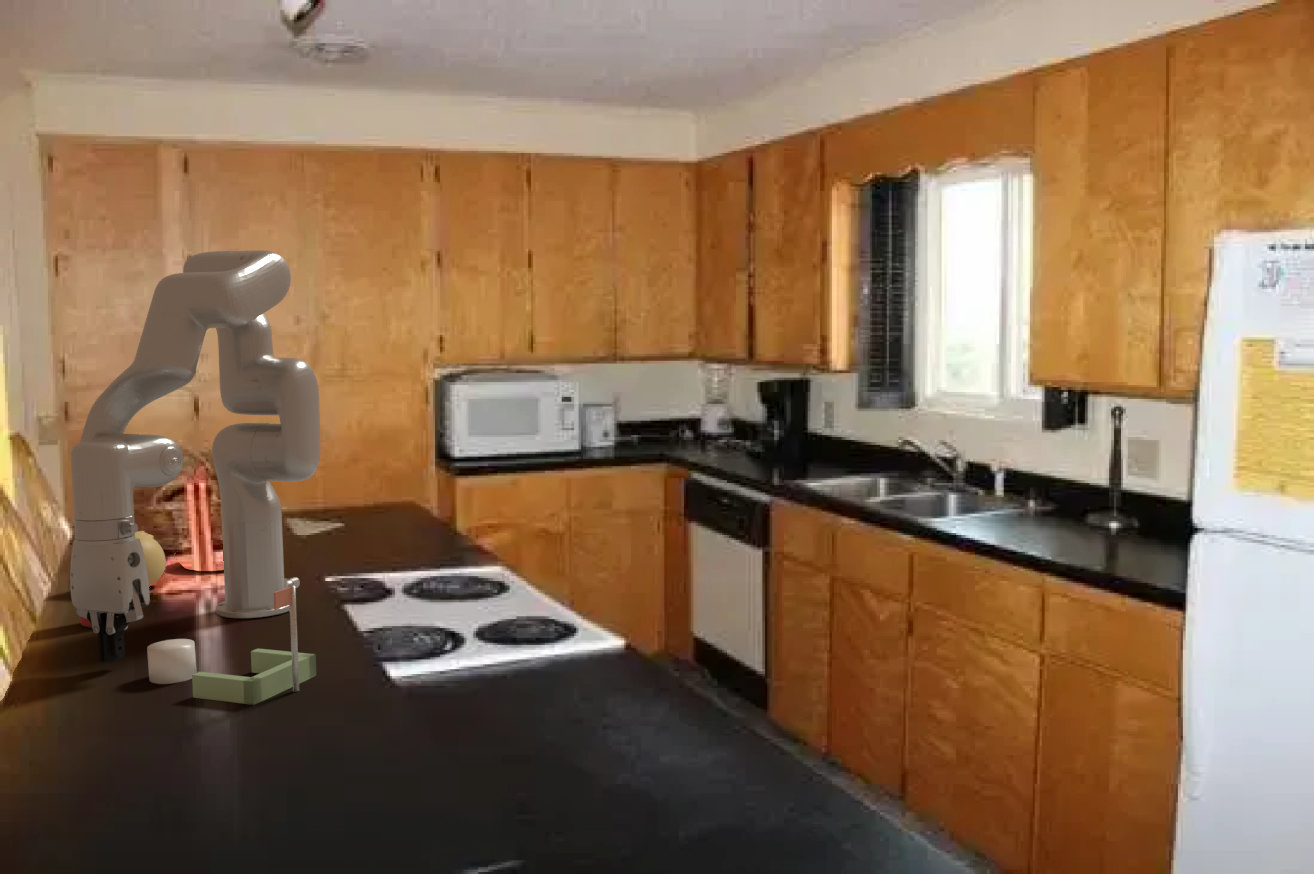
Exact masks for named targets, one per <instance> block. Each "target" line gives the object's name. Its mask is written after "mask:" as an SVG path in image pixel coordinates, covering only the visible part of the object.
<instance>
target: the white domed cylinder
mask: <svg viewBox="0 0 1314 874" xmlns="http://www.w3.org/2000/svg"><path fill="white" fill-rule="evenodd" d="M195 645H196V644H195V641H194V640H193V639H188V638H175V639H165V640H161V641H157V642H154V643H151V644H150V645H148V646H147V648H146V652H147V666H148V677H149V678H148V679H149V680H148V681H149V682H150V683H152V684H157V685H168V684H169V685H170V684H178V683H183V682H186V681H189V680H192V675H193V674H195V673H198V671H197V661H196V659H197V657H196V646H195Z"/></svg>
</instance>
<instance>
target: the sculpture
mask: <svg viewBox="0 0 1314 874" xmlns="http://www.w3.org/2000/svg"><path fill="white" fill-rule="evenodd" d="M135 538H139V539H140V542H141V545H142V548H143V552H144V556H145V561H146V567H147V574H148V582H149V585H150V584H152V583H154V582H156V581H157V580H158V579H159V578H160V577H161V575H162V574H163V571H164V570H165V571H166V568H165V567H166V566H167V560H166V555H165V552H164V549H163V548H162V545H160V543H159V542H158V541H157V540H156V539H154V538H155V537H154V535H152V534H149V533H147V532H145V530H139V531H137V532H136V533H135Z"/></svg>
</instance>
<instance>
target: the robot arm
mask: <svg viewBox="0 0 1314 874" xmlns="http://www.w3.org/2000/svg"><path fill="white" fill-rule="evenodd" d="M182 267H183V268H182V272H181V273H180V272H179V273H177V272H176V273H172V274H170V275H166V276H165V277H163V278H161V279H160V281H158V283H157V284H156V287H155V289H154V292H153V295H152V297H151V302H150V305H149V307H148V308H149V309H148V311H147V315H146V319H145V322H144V325H143V330H142V332H141V336H140V339H139V342H138V345H137V346H138V347H137V348H136V349H137V350H136V353H135V357H134V360H133V361H132V363H131V364H130V366H128V368H126V369H125V370H124V371H123V372H121V373H120V374H119V375H118V376H117V377H116V378H115V379H114V380H113V381H112V382H111V383H110V384H109V385H108V386H107V387H106V388H105V389H104V390H103V392H102V393H101V394H100V395H99V396H98V397H97V399H95V401H94V403H93V404H92V406H91V408H90V410H89V412H88V414H87V418H86V420H85V424H84V425H83V430H82V434H81V437H80V441H79V443H76V444H75V445H73V447H72V449H71V450H70V467H71V468H70V469H71V471H70V472H71V486H72V487H71V489H72V501H73V502H72V503H73V526H74V540H73V542H72V548H71V557H70V571H69V572H70V575H69V576H70V581H69V582H70V598H71V603H72V605H73V607H75V608H76V612H75V613H76V615H77V616H79V617H80V616H81V617H83V618H86V619H88V620H89V622H90V623H91V624H92V628H91V629H92V631H93V633H94V634H96V635H97V636H96V637H97V640H96V641H97V653H98V655H97V656H98V657H97V659H98V661H99V662H100V663H104V662H105V663H107V664H109V663H110V664H111V663H113V662H115V661H119V660H121V659H124V658H125V656H126V649H125V648H126V647H125V646H126V645H125V631H126V630H127V629H128V627H129V624H130V623H131V622H136V621H140V620H142V619H143V618H144V614H143V613H144V612H143V609H142V608H145V607H147V606H149V604H150V602H151V599H150V595H151V594H150V588H149V582H148V574H147V567H146V561H145V556H144V552H143V548H142V545H141V542H140V539H139V538H135V533H136V532H137V531H138V530H139V526H138V524H137V523H136V522H135V508H134V507H135V506H134V489H135V488H158V487H162V486H165V485H167V484H169V483H171V482H172V481H174V480H175V479H177V478H178V477H179V474H180V473H181V471H182V470H183V465H184V454H183V451H182V449H181V447H180V445H179V444H178V443H177V442H176V441H175V440H173V439H172V438H169V437H167V436H165V435H160V434H139V433H137V434H136V433H125V431H126V428H127V426H128V425H129V423H130V422H131V420H132V419H133V417H134V416H136V414H138V412H139V411H141V410H142V409H143V408H145V407H146V406H147V405H149V404H151V403H152V402H154V401H157V400H159V399H161V398H162V397H164V396H166V395H169V394H171V393H173V392H175V391H177V390H179V389H181V388H183V387H185V386H186V385H188V384H189V383H191V382H192V380H193V379H194V377H195V373H196V371H197V366H198V362H199V358H200V355H201V351H202V347H203V343H204V340H205V336H206V334H207V331H208V330H209V329H216V333H217V344H218V346H217V347H218V369H219V373H218V374H219V392H220V400H221V403H222V405H223V407H224V408H225V409H226V410H227V411H228V412H230V413H233V414H237V415H245V416H246V415H247V416H279V422H280V423H270V422H269V423H267V422H266V423H265V422H260V423H259V422H258V423H257V422H253V423H252V422H245V423H244V422H243V423H234V424H230V425H227V426H225V427H224V428H222V429H221V430H220V431H218V432H217V434H216V435H215V437H214V440H213V442H212V446H211V456H212V462H213V466H214V471H215V475H216V479H217V482H218V488H219V496H220V497H219V498H220V509H221V513H220V514H221V532H222V533H221V534H222V544H223V561H224V571H223V578H224V580H223V581H224V601H221V602H219V603H218V604H217V605H216V606H215V614H216V615H218V616H220V617H223V618H227V619H229V618H231V619H253V618H255V619H256V618H265V617H270V616H271V617H272V616H276V615H281V614H284V613H287V612H290V605H288V606H285V607H282V608H279V609H277V610H274V594H273V592H276V591H279V590H282V589H285V588H288V587H289V586H290V585H295V589H298V588H299V587H300V586H301V585H300V584H301V582H300V579H299V578H298V577H296V576H294V577H290V578H286V577H285V568H284V567H285V565H284V545H283V544H284V543H283V541H284V540H283V518H282V517H283V515H282V513H283V512H282V503H281V500H280V498H279V495H278V494H277V492H276V490H275V488H274V486H273V485H272V484H271V482H302V481H307V480H308V479H310V478H312V477H313V476H314V475H315V473H316V471H317V470H318V467H319V464H320V458H321V428H320V427H321V424H320V423H321V421H320V417H321V415H320V393H319V391H320V389H319V384H318V383H319V382H318V380H317V376H316V374H315V371H314V369H313V368H312V367H311V366H310V364H309V363H307V362H306V361H305V360H302V359H299V358H295V357H275V356H274V349H273V348H274V347H273V346H274V345H273V334H272V333H273V332H272V326H271V323H270V321H269V319H268V317H267V316H266V314H265V313H267V312H268V311H269V310H271V309H273V308H274V307H275V306H277V305H278V304H280V303H281V302H282V301H283V300H284V299H285V298H286V296H287V294H288V292H289V289H290V286H291V279H292V275H291V270H290V266H289V265H288V263H287V261H286V260H285V259H284V257H283V256H282V255H280V254H279V253H277V252H275V251H271V250H217V251H205V252H201V253H200V252H199V253H196V254H193V255H192V256H190V257H188V258H187V259H186V261H184V264H183V266H182ZM117 616H118V617H117Z"/></svg>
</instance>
